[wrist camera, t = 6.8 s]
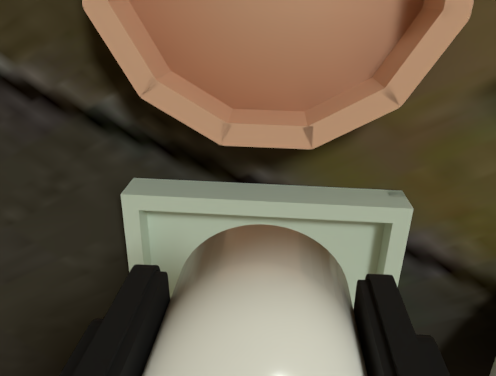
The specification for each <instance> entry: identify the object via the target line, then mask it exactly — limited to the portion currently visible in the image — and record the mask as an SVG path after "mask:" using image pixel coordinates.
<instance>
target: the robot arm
mask: <svg viewBox="0 0 496 376" xmlns="http://www.w3.org/2000/svg"><path fill="white" fill-rule="evenodd" d="M169 302H170V292H169V282H168V274H167V272H163V271H160V267H159V266H158V265H141V264H135V265H134V266H133V267H132V269H131V271H130V272H129V274H128V276H127V278H126V280H125V281H124V283H123V285H122V287H121V289H120V290H119V292H118V294H117V296H116V298H115V299H114V301H113V303H112V305H111V307H110V308H109V310H108V312H107V314H106V316H105V317H104V319H95V320H93V321H92V322H91V323H90V325H89V326H88V328H87V329H86V331H85V333H84V335H83V336H82V338H81V340H80V341H79V343H78V345H77V346H76V348H75V350H74V352H73V353H72V355H71V357H70V358H69V360H68V362H67V363H66V365H65V367H64V368H63V370H62V372H61V374H60V375H59V376H142V374H143V371H144V369H145V366H146V363H147V361H148V358H149V355H150V352H151V350H152V347H153V344H154V342H155V339H156V336H157V334H158V331H159V328H160V326H161V323H162V320H163V318H164V315H165V312H166V310H167V307H168V304H169ZM354 315H355V319H356V324H357V328H358V333H359V338H360V342H361V347H362V352H363V356H364V361H365V365H366V370H367V375H368V376H450V374H449V371H448V369H447V367H446V364H445V362H444V360H443V357H442V355H441V353H440V351H439V348H438V346H437V344H436V342H435V340H434V338H433V337H431V336H430V335H416V334H415V332H414V329H413V326H412V324H411V321H410V319H409V316H408V313H407V311H406V308H405V306H404V303H403V300H402V298H401V295H400V292H399V290H398V287H397V285H396V282H395V279H394V277H393V276H392V275H387V274H367V275H366V278H365V280H358V281H357V285H356V294H355V302H354Z"/></svg>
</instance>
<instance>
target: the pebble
mask: <svg viewBox="0 0 496 376" xmlns="http://www.w3.org/2000/svg"><path fill="white" fill-rule="evenodd" d="M142 376H368V375H367V370H366V365H365V361H364V356H363V352H362V347H361V342H360V338H359V333H358V328H357V324H356V319H355V315H354V310H353V305H352V301H351V296H350V292H349V287H348V283H347V280H346V277H345V274H344V272H343V270H342V268H341V266H340V265H339V263H338V262H337V260H336V259H335V257H334V256H333V255H332V254H331V253H330V252H329V251H328V250H327V249H326V248H325V247H323V246H322V245H321V244H320V243H318V242H317V241H315V240H314V239H312V238H310V237H309V236H307V235H304V234H302V233H300V232H298V231H295V230H292V229H289V228H285V227H280V226H275V225H265V224H255V225H244V226H238V227H234V228H230V229H227V230H224V231H222V232H219V233H217V234H215V235H213V236H212V237H210V238H208V239H207V240H205V241H204V242H203V243H201V244H200V245H199V246H198V247H197V248H196V249H195V250H194V251H193V252H192V253H191V254H190V256H189V257H188V258H187V260H186V262H185V264H184V265H183V267H182V270H181V272H180V275H179V278H178V280H177V283H176V286H175V288H174V291H173V294H172V296H171V299H170V302H169V304H168V307H167V310H166V312H165V315H164V318H163V320H162V323H161V326H160V328H159V331H158V334H157V336H156V339H155V342H154V344H153V347H152V350H151V352H150V355H149V358H148V361H147V363H146V366H145V369H144V371H143V374H142Z"/></svg>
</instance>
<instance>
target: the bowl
mask: <svg viewBox="0 0 496 376" xmlns="http://www.w3.org/2000/svg"><path fill="white" fill-rule="evenodd" d="M473 2H474V0H82V5H83V7H85V8H84V11H85V12H86V14H87V15H88V17H89V18H90V20H91V22H92V23H93V25H94V26H95V28H96V29H97V31H98V33H99V34H100V36H101V37H102V39H103V40H104V42H105V43H106V45H107V47H108V48H109V50H110V51H111V53H112V54H113V56H114V58H115V59H116V61H117V62H118V64H119V65H120V67H121V69H122V70H123V72H124V73H125V75H126V76H127V78H128V80H129V81H130V83H131V84H132V86H133V87H134V89H135V90H136V92H137V94H138V95H139V97H140V96H141V98H142V99H143V100H145V101H147V102H148V103H150V104H152V105H153V106H155V107H157V108H158V109H160V110H162V111H164V112H165V113H167V114H169V115H170V116H172V117H174V118H175V119H177V120H179V121H180V122H182V123H184V124H185V125H187V126H189V127H190V128H192V129H194V130H196V131H197V132H199V133H201V134H202V135H204V136H206V137H207V138H209V139H211V140H212V141H214V142H216V143H217V144H219V145H221V144H222V146H241V147H265V148H288V149H314V148H316V147H318V146H321V145H323V144H325V143H327V142H329V141H331V140H333V139H335V138H337V137H339V136H341V135H343V134H346V133H348V132H350V131H352V130H354V129H356V128H358V127H360V126H362V125H364V124H366V123H369V122H371V121H373V120H375V119H377V118H379V117H381V116H383V115H385V114H387V113H389V112H392V111H394V110H396V109H398V108H400V107H399V106H402V105H403V103H404V102H405V101H406V100H407V98H408V97H409V96H410V94H411V93H412V92H413V91H414V89H415V88H416V87H417V85H418V84H419V83H420V82H421V80H422V79H423V78H424V77H425V75H426V74H427V73H428V71H429V70H430V69H431V68H432V66H433V65H434V64H435V62H436V61H437V60H438V59H439V57H440V56H441V55H442V53H443V52H444V51H445V50H446V48H447V47H448V46H449V45H450V43H451V42H452V41H453V39H454V38H455V37H456V36H457V34H458V33H459V32H460V30H461V29H462V28H463V27H464V25H465V24H466V23H467V21H468V20H469V18H470V16H471V11H472V7H473ZM467 17H468V18H467Z"/></svg>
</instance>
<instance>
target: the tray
mask: <svg viewBox="0 0 496 376" xmlns="http://www.w3.org/2000/svg"><path fill="white" fill-rule="evenodd" d="M121 203H122V212H123V221H124V230H125V239H126V248H127V256H128V265H129V272H130V271H131V269H132V267H133V266H134V265H135V264H141V265H158V266H159V267H160V271H163V272H167V274H168V282H169V292H170V299H171V296H172V294H173V291H174V288H175V286H176V283H177V280H178V278H179V275H180V272H181V270H182V267H183V265H184V264H185V262H186V260H187V258H188V257H189V256H190V254H191V253H192V252H193V251H194V250H195V249H196V248H197V247H198V246H199V245H200V244H201V243H203V242H204V241H205V240H207V239H208V238H210V237H212V236H213V235H215V234H217V233H219V232H222V231H224V230H227V229H230V228H234V227H238V226H244V225H255V224H265V225H275V226H280V227H285V228H289V229H292V230H295V231H298V232H300V233H302V234H304V235H307V236H309V237H310V238H312V239H314V240H315V241H317V242H318V243H320V244H321V245H322V246H323V247H325V248H326V249H327V250H328V251H329V252H330V253H331V254H332V255H333V256H334V257H335V259H336V260H337V262H338V263H339V265H340V266H341V268H342V270H343V272H344V274H345V277H346V280H347V283H348V287H349V292H350V296H351V301H352V305H353V310H354V302H355V294H356V285H357V281H358V280H365V278H366V275H367V274H387V275H392V276H393V277H394V279H395V282H396V285H397V287H398V282H399V277H400V272H401V267H402V263H403V258H404V253H405V248H406V243H407V238H408V233H409V228H410V223H411V218H412V214H413V207H412V206H411V204H410V202H409V201H408V199H407V198H406V196H405V195H404V193H403V191H400V190H379V189H358V188H337V187H316V186H294V185H273V184H252V183H231V182H210V181H189V180H167V179H146V178H133V179H132V181H131V182H130V183H129V184H128V186H127V187H126V188H125V189H124V191H123V192H122V193H121Z"/></svg>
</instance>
